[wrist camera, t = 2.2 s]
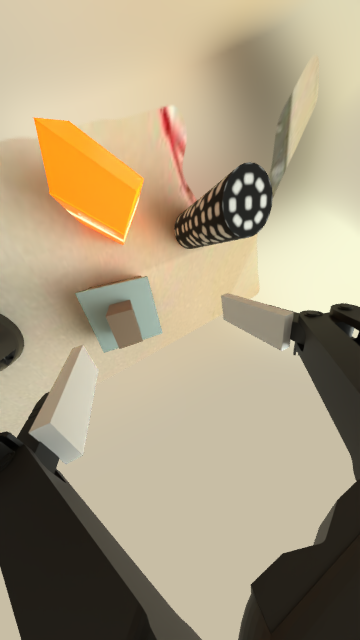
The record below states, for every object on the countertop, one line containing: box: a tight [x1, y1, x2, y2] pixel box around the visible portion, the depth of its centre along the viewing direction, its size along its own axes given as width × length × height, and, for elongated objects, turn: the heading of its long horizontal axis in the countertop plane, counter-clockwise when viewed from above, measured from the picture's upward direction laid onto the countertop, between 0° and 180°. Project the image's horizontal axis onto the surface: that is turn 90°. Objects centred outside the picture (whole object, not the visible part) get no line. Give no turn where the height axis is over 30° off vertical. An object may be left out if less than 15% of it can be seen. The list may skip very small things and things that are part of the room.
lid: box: [75, 276, 162, 353], centre depth 28 cm, size 13×13×8 cm
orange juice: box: [34, 118, 144, 245], centre depth 23 cm, size 8×9×20 cm
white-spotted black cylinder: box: [175, 162, 272, 249], centre depth 29 cm, size 8×8×20 cm
